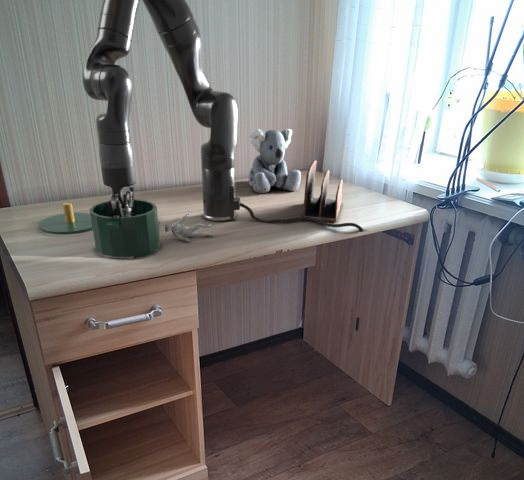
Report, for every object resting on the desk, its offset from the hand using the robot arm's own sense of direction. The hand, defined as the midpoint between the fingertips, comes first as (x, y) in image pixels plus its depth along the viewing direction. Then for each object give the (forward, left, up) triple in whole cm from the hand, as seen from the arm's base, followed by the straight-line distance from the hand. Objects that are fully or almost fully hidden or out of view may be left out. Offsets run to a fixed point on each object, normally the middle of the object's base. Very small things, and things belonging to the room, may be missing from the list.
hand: (126, 234), depth 126 cm
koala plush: (-34, -63, -4) cm, 72 cm away
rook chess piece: (0, 0, -1) cm, 1 cm away
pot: (0, 0, -3) cm, 3 cm away
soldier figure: (-14, -9, -4) cm, 17 cm away
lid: (+20, -15, -3) cm, 25 cm away
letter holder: (-51, -35, -4) cm, 62 cm away
